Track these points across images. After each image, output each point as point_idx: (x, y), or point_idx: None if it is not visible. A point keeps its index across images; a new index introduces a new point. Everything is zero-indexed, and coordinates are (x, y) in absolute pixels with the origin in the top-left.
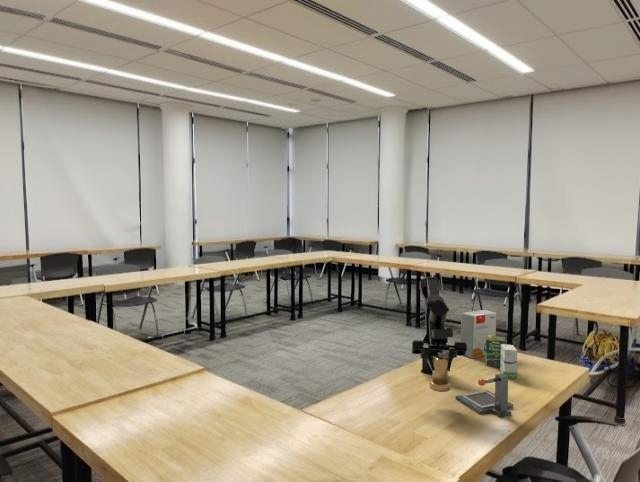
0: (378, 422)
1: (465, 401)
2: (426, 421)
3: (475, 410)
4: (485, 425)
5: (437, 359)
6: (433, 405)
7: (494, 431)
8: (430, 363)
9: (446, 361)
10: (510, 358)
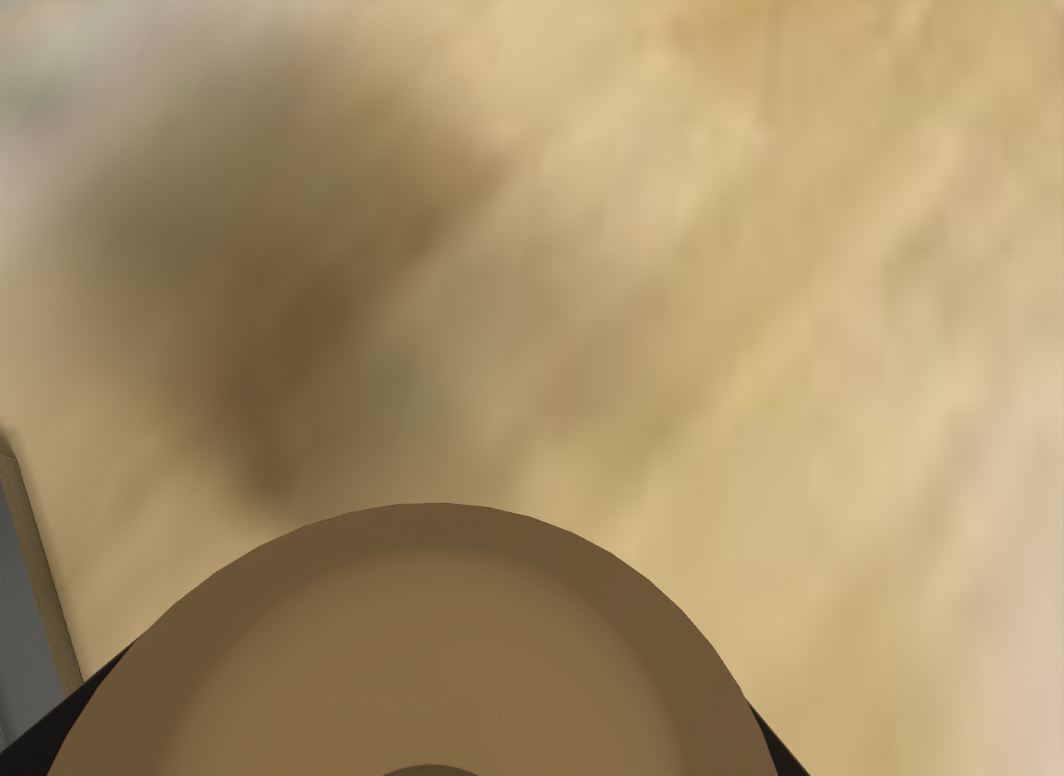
0: (1060, 276)
1: None
2: (642, 297)
3: (29, 528)
4: (69, 223)
5: (598, 691)
6: None
7: (34, 115)
8: (790, 767)
9: (210, 589)
10: None
